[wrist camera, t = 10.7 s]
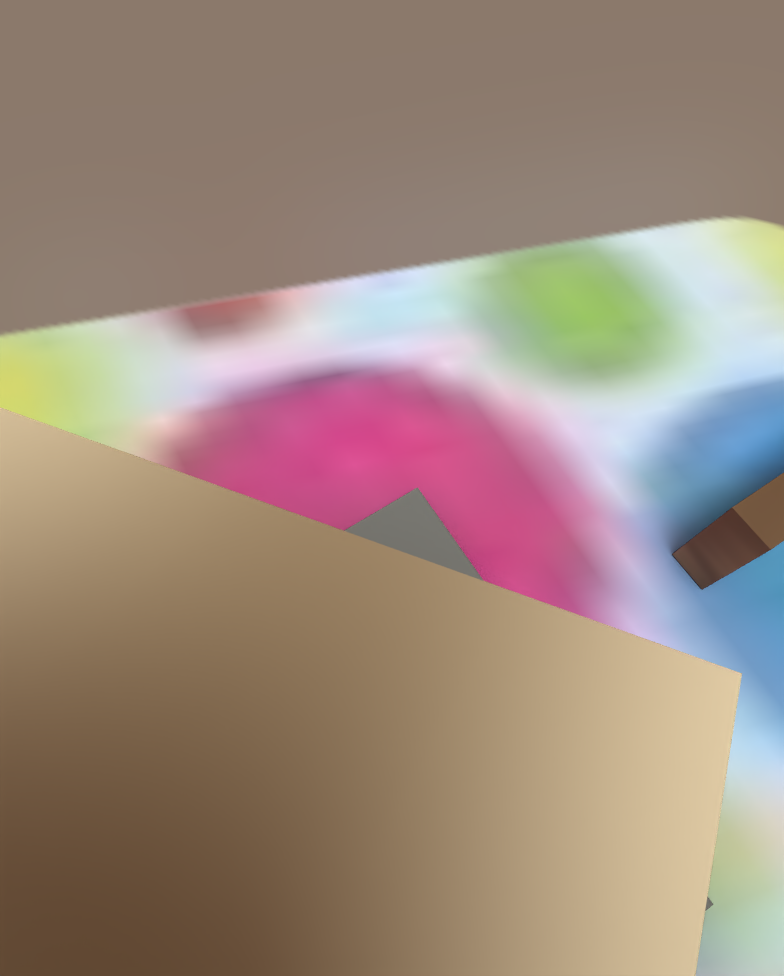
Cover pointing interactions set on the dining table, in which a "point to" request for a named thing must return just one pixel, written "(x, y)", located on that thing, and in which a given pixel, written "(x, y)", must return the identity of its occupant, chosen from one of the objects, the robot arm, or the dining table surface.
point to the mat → (418, 537)
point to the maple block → (324, 748)
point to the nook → (736, 536)
